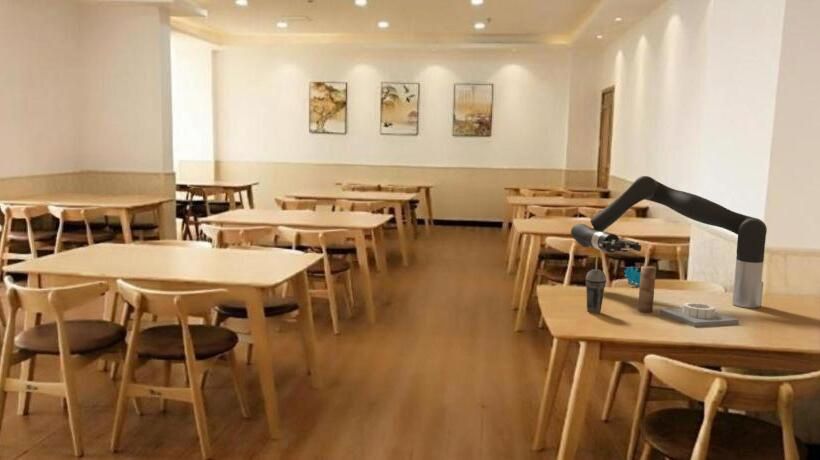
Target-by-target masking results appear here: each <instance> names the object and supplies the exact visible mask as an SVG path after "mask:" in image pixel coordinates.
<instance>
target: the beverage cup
mask: <svg viewBox="0 0 820 460" xmlns="http://www.w3.org/2000/svg"><path fill="white" fill-rule="evenodd" d="M584 279H585V286H586V287H585V288H586V311H587V313H588V312H589V313H588V314H591V313H596V314H595V315H598V314H597V313H600V314H601V312H602V311H601V310H602V304H603V299H604V293H605V287H606V283H607V277H606V274H605V272H603V271H602V270H601V269H599V268H598V256H596V257H595V268H593V269H591V270H589V271H588V272H587V273H586V276H585V278H584Z"/></svg>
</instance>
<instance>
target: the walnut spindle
mask: <svg viewBox="0 0 820 460" xmlns="http://www.w3.org/2000/svg"><path fill="white" fill-rule="evenodd" d="M656 269H657V267H655V266H651V265H650V266H649V265H643V266H641V267H640V272H641V275H640V287H639V289H638V291H639V292H638V302H637V303H638V304H637V305H638V306H637V311H638V312H640V313H644V314H645V313H646V314H651V313H653V312H654V296H655V284H656V273H657V270H656Z"/></svg>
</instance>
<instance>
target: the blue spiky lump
mask: <svg viewBox="0 0 820 460" xmlns="http://www.w3.org/2000/svg"><path fill="white" fill-rule="evenodd" d="M624 273H625V274H624V277H625V278H628V279H627V284H629V285H630V284H631V285H632V286H635V285H636V287H639V288H640V275H641V271H640V270H639V268H638V267H636V268H635V267H634V266H627V267H626V269H625V270H624Z"/></svg>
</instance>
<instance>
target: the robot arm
mask: <svg viewBox="0 0 820 460" xmlns="http://www.w3.org/2000/svg"><path fill="white" fill-rule="evenodd" d="M644 200H645V201H649V202H653V203H655V204H656V203H657V204H659V205H663V206H665V207H667V208H669V209H671V210H672V211H674V212H676V213H677V214H680V215H681V216H683V217H686V218H688V219H691V220H693V221H695V222H698V223H701V224H705V225H709V226H713V227H718V228H721V229H723V230H724V229H725V230H727V231H729V232H732V233H734V234H736V235H737V243H736V259H735V269H734V281H733V290H732V301H731V302H732V303H731V304H732V305H734V306H736V307H739V308H740V307H741V308H748V309H756V307H758V308H759V307H762V302H763V301H762V300H763V291H764V281H762V280H763V271H764V270H763V269H764V261H765V249H766V239H767V237H766V236H767V232H768V231H767V230H768V229H767V225H766V223H765V222H764V221H763V220H761V219H760V218H756V217H753V216H749V215H745V214H742V213H739V212H735V211H734V210H733V211H732V210H731V209H728V208H727V207H725V206H723V205H721V204H718V203H716V202H715V201H711V200H709V199H707V198H705V197H702V196H700V195H697V194H694V193H691V192H686V191H684V190H678V189H674V188H673V187H672V188H671V187H670V186H668V185H665V184H663V183H661V182H659V181H657V180H656V179H655V178H652V177H651V176H648V175H643V176H642V175H641V176H639V177H638V178H636V179H635V181H634V182H633V183H632V184H631V185H630V186H629V187H628V188H627V189H626V190H625V191H624V192H623V193H622V194H621V195H619V197H617V198H616V199H615V200H614V201H612V202H611V203H610V204H609V205H607V206H606V207H604V208H603V209H601V210H600V211H599V212H598V213H596V214H595V215H593V217H592V218H591V219H590V224H591V226H592V227H590V226H589V225H586V224H585V223H578V224H575V225H573V227H572V228H571V230H570V236H571V237H572V239H574V240H575V241H576V243H578V244H579V246H580V247H582V248H589V247H590V248H593V249H597V250H598V251H603V252H606V253H608V254H609V253H610V254H612V253H615V252H622V251H623V250H624V251H629V250H633V251H637V252H641V251H642V246H641V244H640V243H639V242H635V241H632V240H623V239H620V237H619V236H618V235H617V234H615V233H612V232H611V233H610V232H606V229H608V228H609V227H610V226H612V225H613V224H614V223H616V221H617V220H619V219H620V218H621V217H622V216H623V215H624V214H625V213H626V212H627V211H628V210H629V209H632V207H634V205H636V204H638V203H640V202H642V201H644Z"/></svg>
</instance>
